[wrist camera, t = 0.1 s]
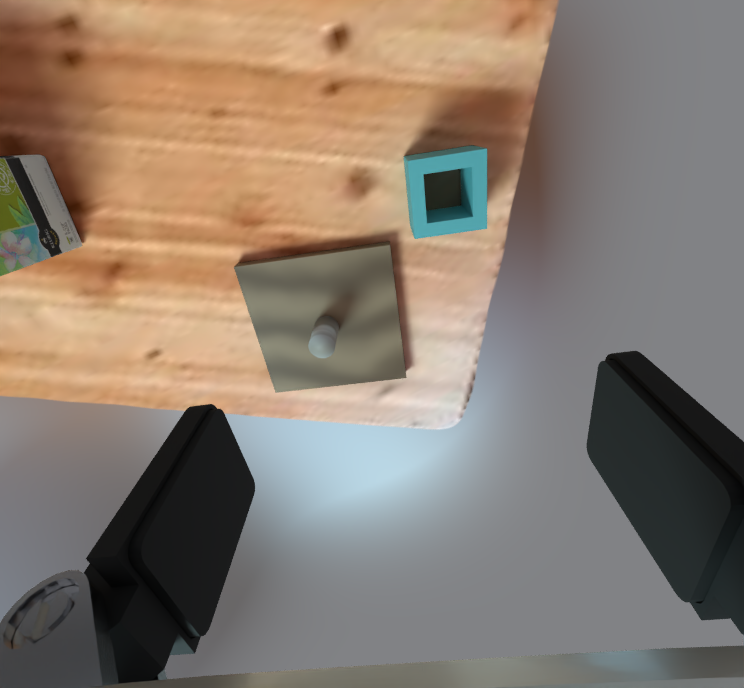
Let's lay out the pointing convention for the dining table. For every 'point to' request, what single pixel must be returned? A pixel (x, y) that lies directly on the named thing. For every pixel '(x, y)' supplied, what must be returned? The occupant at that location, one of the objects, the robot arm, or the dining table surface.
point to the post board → (331, 295)
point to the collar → (472, 191)
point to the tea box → (31, 214)
